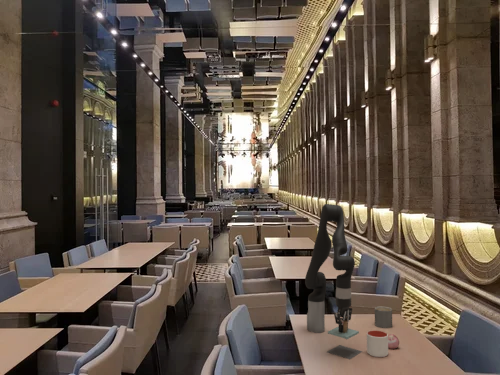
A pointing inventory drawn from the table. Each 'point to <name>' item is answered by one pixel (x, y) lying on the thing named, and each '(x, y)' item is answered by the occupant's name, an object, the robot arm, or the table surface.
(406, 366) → the table surface
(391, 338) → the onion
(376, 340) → the cup
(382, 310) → the coffee mug
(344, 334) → the lid
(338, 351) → the mat
